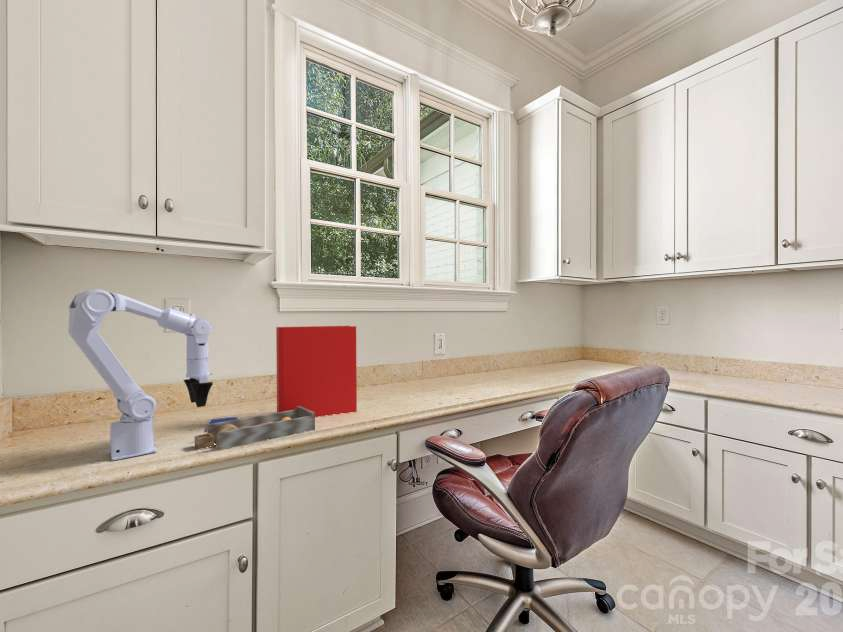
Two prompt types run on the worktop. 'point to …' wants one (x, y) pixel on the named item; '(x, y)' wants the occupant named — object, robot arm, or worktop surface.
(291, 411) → the lane
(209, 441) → the brown wooden crate
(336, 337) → the book
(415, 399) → the worktop surface
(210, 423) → the hard drive
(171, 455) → the worktop surface
